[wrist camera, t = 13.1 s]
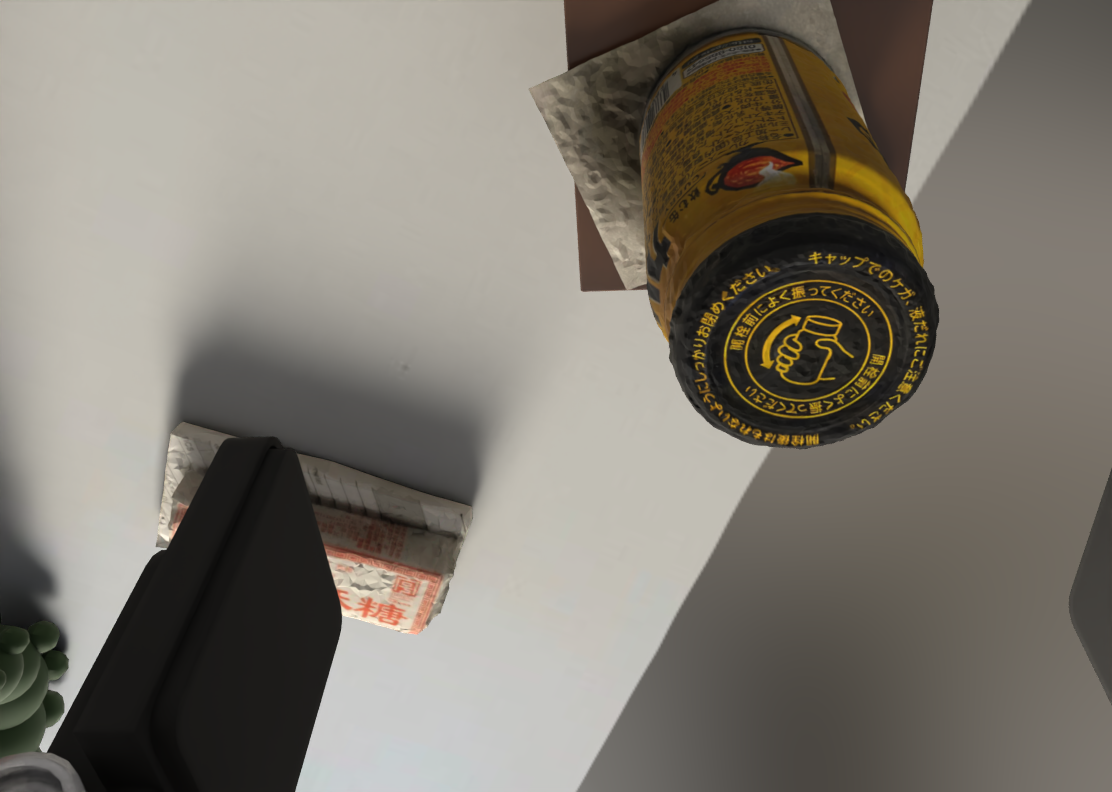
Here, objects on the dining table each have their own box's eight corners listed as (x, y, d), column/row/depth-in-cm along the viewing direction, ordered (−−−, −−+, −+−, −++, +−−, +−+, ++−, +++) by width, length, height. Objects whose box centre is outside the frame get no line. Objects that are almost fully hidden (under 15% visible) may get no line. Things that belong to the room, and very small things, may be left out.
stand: (579, -122, 40) (562, -32, 27) (832, -139, 39) (941, -54, 26) (590, 120, 45) (580, 292, 32) (811, 110, 45) (892, 282, 32)
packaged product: (468, 558, 55) (423, 665, 61) (477, 501, 59) (435, 606, 65) (145, 468, 53) (130, 589, 58) (178, 414, 57) (160, 532, 62)
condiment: (885, 189, 30) (1016, 430, 20) (626, 288, 32) (631, 546, 22) (815, -46, 26) (935, 109, 16) (529, 84, 28) (483, 288, 19)
